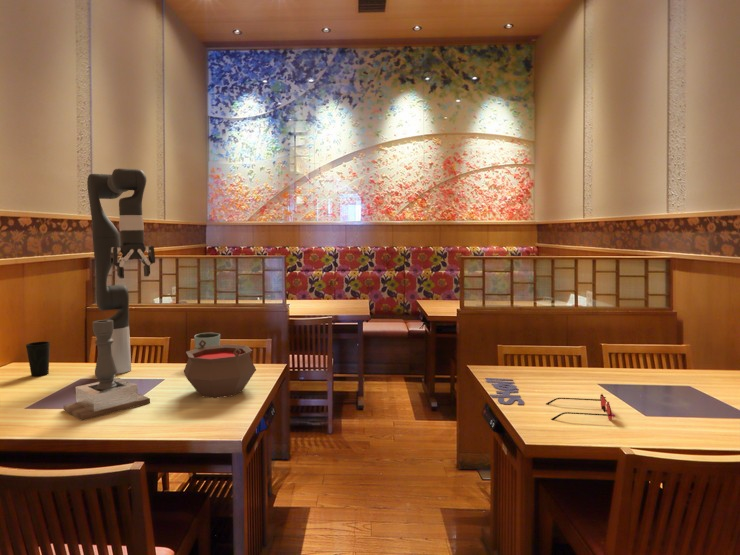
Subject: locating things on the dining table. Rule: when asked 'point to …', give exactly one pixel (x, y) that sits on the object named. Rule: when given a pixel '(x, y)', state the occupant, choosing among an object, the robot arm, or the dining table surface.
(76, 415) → the socket board
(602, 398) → the glasses
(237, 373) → the brown cauldron
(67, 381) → the dining table surface
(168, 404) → the dining table surface
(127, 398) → the square collar
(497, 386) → the signage
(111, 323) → the candle holder
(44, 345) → the cup
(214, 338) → the grey cylindrical container
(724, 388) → the dining table surface
